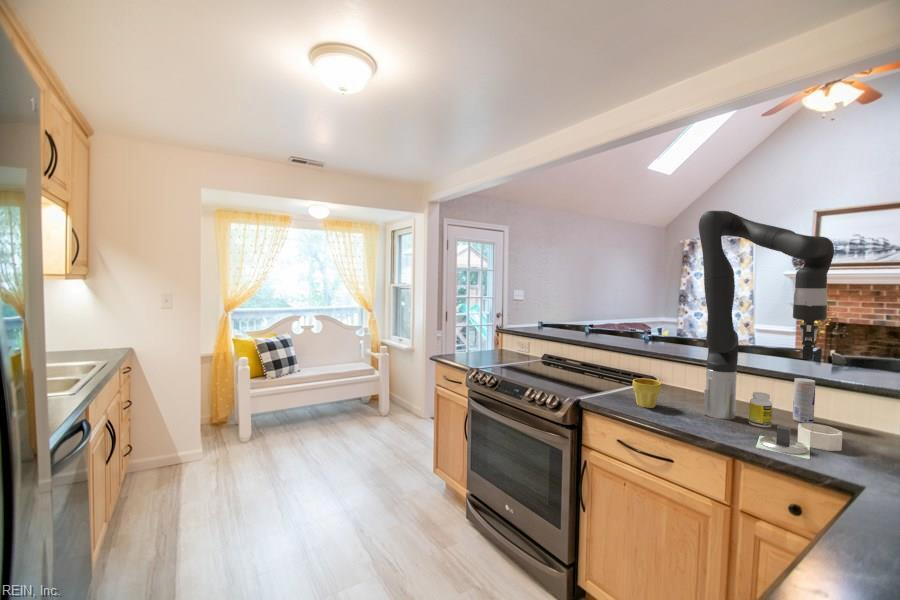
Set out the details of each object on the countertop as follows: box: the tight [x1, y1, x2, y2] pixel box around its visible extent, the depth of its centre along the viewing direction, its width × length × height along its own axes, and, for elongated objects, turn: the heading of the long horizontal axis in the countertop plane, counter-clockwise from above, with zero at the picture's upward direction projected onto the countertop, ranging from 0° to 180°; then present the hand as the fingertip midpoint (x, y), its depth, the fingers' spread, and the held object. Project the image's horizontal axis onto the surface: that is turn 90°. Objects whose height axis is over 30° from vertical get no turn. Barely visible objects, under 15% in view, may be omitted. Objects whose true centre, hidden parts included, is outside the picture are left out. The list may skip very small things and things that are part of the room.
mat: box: [755, 435, 811, 460], centre depth 121 cm, size 12×12×1 cm
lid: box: [760, 424, 808, 455], centre depth 120 cm, size 11×11×6 cm
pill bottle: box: [748, 391, 773, 428], centre depth 139 cm, size 6×6×11 cm
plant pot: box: [632, 377, 662, 409], centre depth 161 cm, size 10×10×10 cm
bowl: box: [796, 422, 843, 452], centre depth 122 cm, size 10×10×5 cm
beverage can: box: [792, 377, 816, 423], centre depth 143 cm, size 6×6×15 cm
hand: (807, 357), depth 121 cm, fingers open, 8 cm apart
